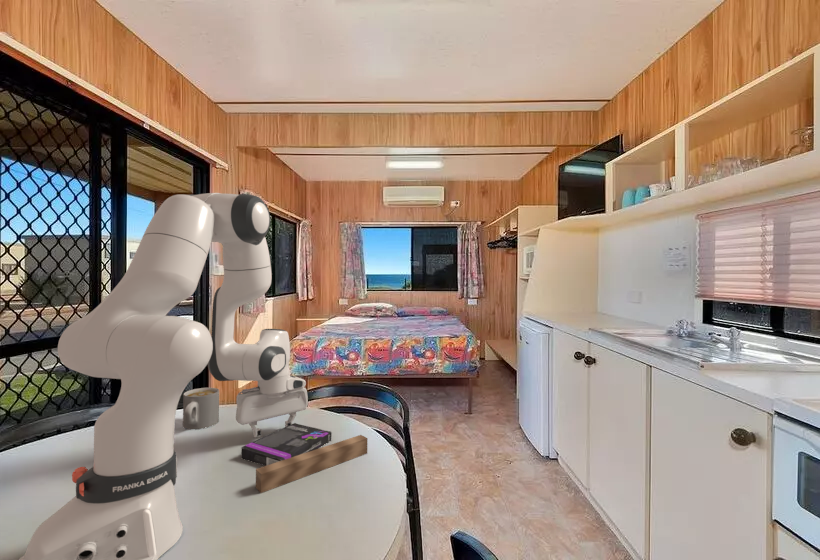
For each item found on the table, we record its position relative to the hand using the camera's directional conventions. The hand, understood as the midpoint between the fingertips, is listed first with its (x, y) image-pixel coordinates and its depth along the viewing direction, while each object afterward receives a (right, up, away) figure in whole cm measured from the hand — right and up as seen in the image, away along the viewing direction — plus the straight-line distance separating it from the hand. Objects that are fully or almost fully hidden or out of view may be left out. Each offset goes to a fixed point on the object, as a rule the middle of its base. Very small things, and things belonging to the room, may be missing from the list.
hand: (273, 431), depth 108 cm
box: (+7, -2, -8) cm, 11 cm away
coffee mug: (-27, -2, +8) cm, 28 cm away
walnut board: (+17, -2, -18) cm, 25 cm away
